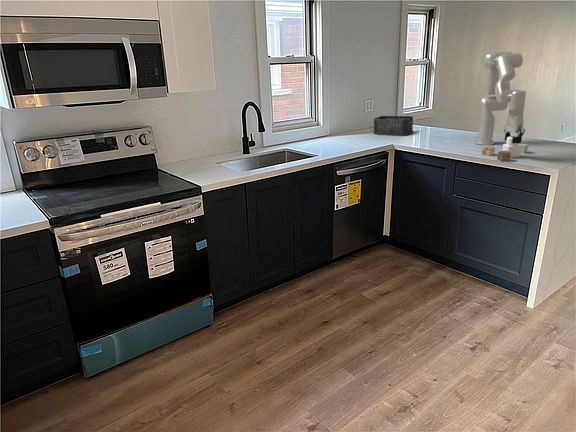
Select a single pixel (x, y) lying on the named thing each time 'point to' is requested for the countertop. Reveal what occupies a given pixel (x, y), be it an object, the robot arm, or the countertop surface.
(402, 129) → the storage bin
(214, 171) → the countertop surface
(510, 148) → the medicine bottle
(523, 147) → the sage cube
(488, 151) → the oak cube
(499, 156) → the walnut cube
